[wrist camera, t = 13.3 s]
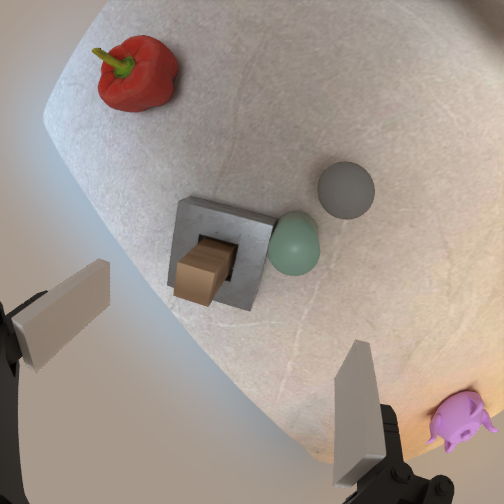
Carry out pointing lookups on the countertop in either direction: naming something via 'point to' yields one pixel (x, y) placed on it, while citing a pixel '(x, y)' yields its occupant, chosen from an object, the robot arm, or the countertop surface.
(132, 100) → the vegetable
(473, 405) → the teapot
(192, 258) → the walnut square peg
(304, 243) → the green round bit
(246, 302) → the bore block
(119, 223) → the countertop surface
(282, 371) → the countertop surface
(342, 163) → the light bulb
